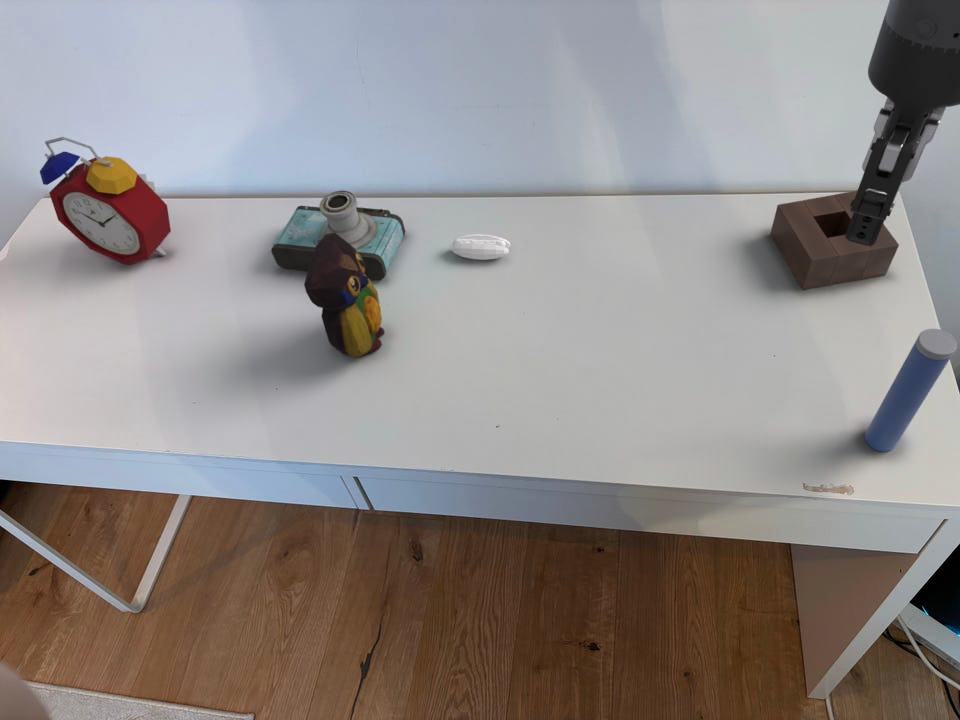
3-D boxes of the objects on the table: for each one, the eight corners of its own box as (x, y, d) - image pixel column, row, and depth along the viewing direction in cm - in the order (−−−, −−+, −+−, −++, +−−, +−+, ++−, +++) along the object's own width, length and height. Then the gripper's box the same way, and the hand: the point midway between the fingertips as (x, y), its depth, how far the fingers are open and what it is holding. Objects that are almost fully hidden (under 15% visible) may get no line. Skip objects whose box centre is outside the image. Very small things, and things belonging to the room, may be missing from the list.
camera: (254, 216, 95) (286, 169, 101) (278, 268, 103) (306, 221, 109) (370, 227, 91) (396, 177, 97) (386, 281, 99) (409, 231, 104)
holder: (847, 220, 96) (858, 190, 92) (885, 275, 89) (899, 244, 85) (769, 234, 96) (777, 204, 92) (802, 290, 89) (811, 260, 85)
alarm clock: (85, 259, 109) (2, 146, 94) (119, 221, 114) (45, 108, 99) (166, 272, 105) (93, 157, 90) (198, 232, 110) (134, 116, 94)
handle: (887, 425, 76) (945, 325, 64) (901, 449, 75) (964, 351, 62) (859, 430, 76) (912, 331, 64) (872, 454, 75) (929, 357, 62)
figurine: (382, 372, 89) (352, 287, 77) (328, 373, 90) (289, 288, 78) (394, 312, 95) (367, 225, 83) (343, 314, 96) (309, 227, 84)
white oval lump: (455, 245, 101) (452, 230, 99) (512, 248, 100) (510, 232, 98) (451, 261, 100) (447, 246, 97) (508, 264, 98) (506, 249, 96)
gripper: (993, 82, 42) (901, 278, 55) (1035, -27, 49) (944, 170, 62) (857, 58, 45) (799, 249, 58) (914, -41, 52) (851, 149, 65)
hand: (874, 208), depth 60 cm, fingers open, 8 cm apart
